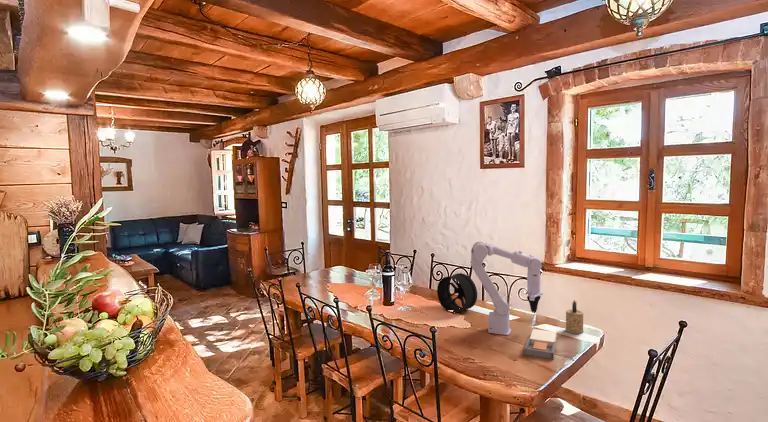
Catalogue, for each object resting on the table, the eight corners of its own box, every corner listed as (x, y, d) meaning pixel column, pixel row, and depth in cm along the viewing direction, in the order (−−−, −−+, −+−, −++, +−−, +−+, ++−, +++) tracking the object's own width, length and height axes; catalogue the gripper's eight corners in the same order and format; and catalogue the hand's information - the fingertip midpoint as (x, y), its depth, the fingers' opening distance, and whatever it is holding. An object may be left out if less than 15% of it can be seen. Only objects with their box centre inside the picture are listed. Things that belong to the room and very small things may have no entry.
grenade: (585, 334, 187) (585, 302, 186) (568, 333, 189) (568, 302, 188) (580, 328, 195) (580, 297, 193) (564, 327, 196) (564, 297, 195)
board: (529, 344, 179) (529, 338, 179) (533, 334, 190) (533, 329, 189) (554, 347, 175) (554, 342, 174) (556, 337, 185) (556, 332, 185)
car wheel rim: (477, 312, 221) (477, 276, 219) (465, 317, 215) (465, 280, 213) (449, 304, 236) (448, 270, 235) (437, 308, 230) (436, 273, 228)
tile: (532, 352, 170) (532, 347, 170) (534, 346, 176) (534, 341, 176) (545, 354, 168) (545, 349, 168) (547, 347, 174) (547, 343, 174)
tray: (524, 355, 169) (524, 348, 168) (528, 343, 179) (528, 337, 179) (553, 359, 164) (553, 353, 163) (555, 347, 174) (555, 341, 174)
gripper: (541, 287, 182) (541, 317, 183) (544, 279, 195) (544, 307, 196) (524, 286, 185) (524, 315, 186) (529, 278, 198) (529, 305, 199)
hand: (533, 311), depth 191 cm, fingers closed
